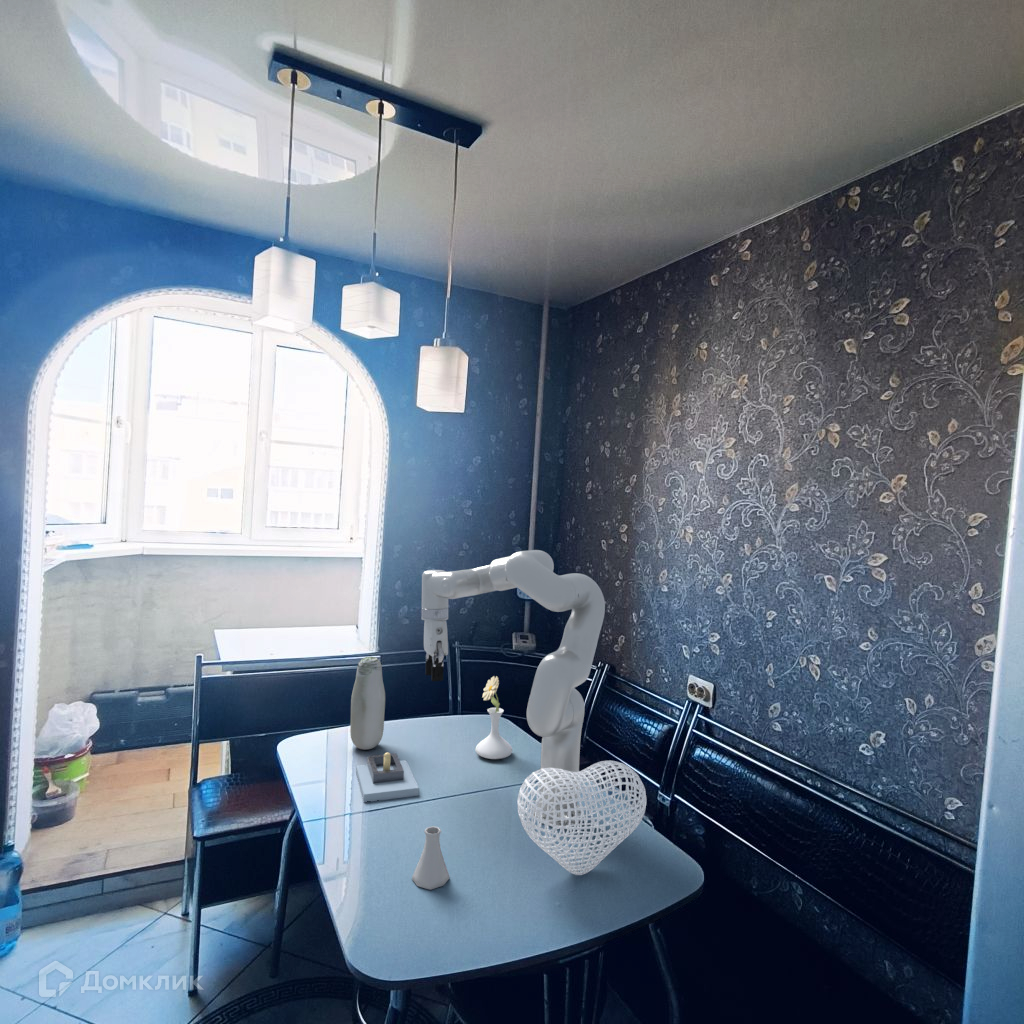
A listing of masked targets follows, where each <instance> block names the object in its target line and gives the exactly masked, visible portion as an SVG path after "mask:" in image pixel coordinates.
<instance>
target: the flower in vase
mask: <svg viewBox="0 0 1024 1024" xmlns="http://www.w3.org/2000/svg"><path fill="white" fill-rule="evenodd" d="M499 684H500V680H499V677H498V676H497V675H496V676H495V675H493V676H492V677H490V679H488V680H487V682H486V684H485V687H484V688H483V693H482V697H481V698H483V701H490V702H491V703H492V705H493V706H494V707H490V708H487V709H486V710H487V713H488V714H489V716H490V722H491V727H490V733H489V734H488V736H486V737H485V738H483V739H482V740H480V742H478V743H477V745H476V747H475V752H476V754H477V755H478V756H480V757H482V758H485V759H490V760H500V759H501V760H502V759H505V758H508V757H509V756H511V755H512V753H513V747H512V745H511V744H510V743H509V741H507V740H506V739H505V738H504V737H502V736H501V735H500V732H499V731H500V730H499V726H500V719H501V716H502V714H503V713H504V711H505V710H504V709H503V708H501V707H500V705H501V703H500V702H499V697H498V694H497V691H498V688H499ZM494 695H495V696H494ZM495 697H496V698H495Z"/></svg>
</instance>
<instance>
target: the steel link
mask: <svg viewBox="0 0 1024 1024" xmlns="http://www.w3.org/2000/svg"><path fill="white" fill-rule="evenodd" d="M390 755H391V758H390V765H392V766H393V769H394V770H385V771H378V770H377V767H376V766H383V764H384V754H374V755H367V763H366V764H367V766H368V769H369V772H370V775H371V779H372V782H373V784H374V783H382V782H391V781H400V780H404V770H403V768H402V765H401V763H400V761H401V760H400V758H399V756H398V754H397V753H390Z"/></svg>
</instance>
